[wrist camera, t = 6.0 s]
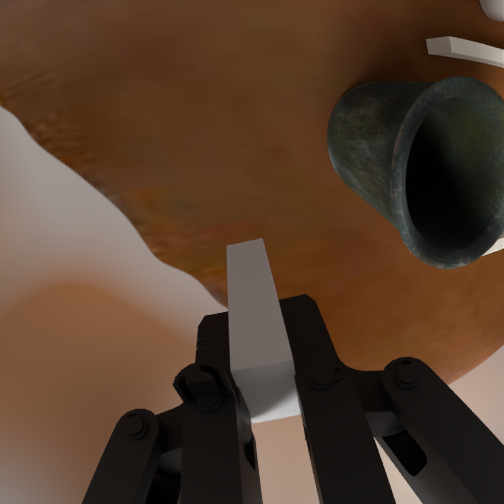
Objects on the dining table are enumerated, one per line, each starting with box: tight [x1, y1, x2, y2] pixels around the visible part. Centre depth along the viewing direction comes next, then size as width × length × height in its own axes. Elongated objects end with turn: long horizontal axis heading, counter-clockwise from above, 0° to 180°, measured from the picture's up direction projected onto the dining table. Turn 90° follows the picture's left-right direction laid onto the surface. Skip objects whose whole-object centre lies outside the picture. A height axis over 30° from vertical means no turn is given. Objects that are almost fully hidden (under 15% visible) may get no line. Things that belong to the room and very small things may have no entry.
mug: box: [327, 76, 504, 269], centre depth 18 cm, size 11×15×12 cm
